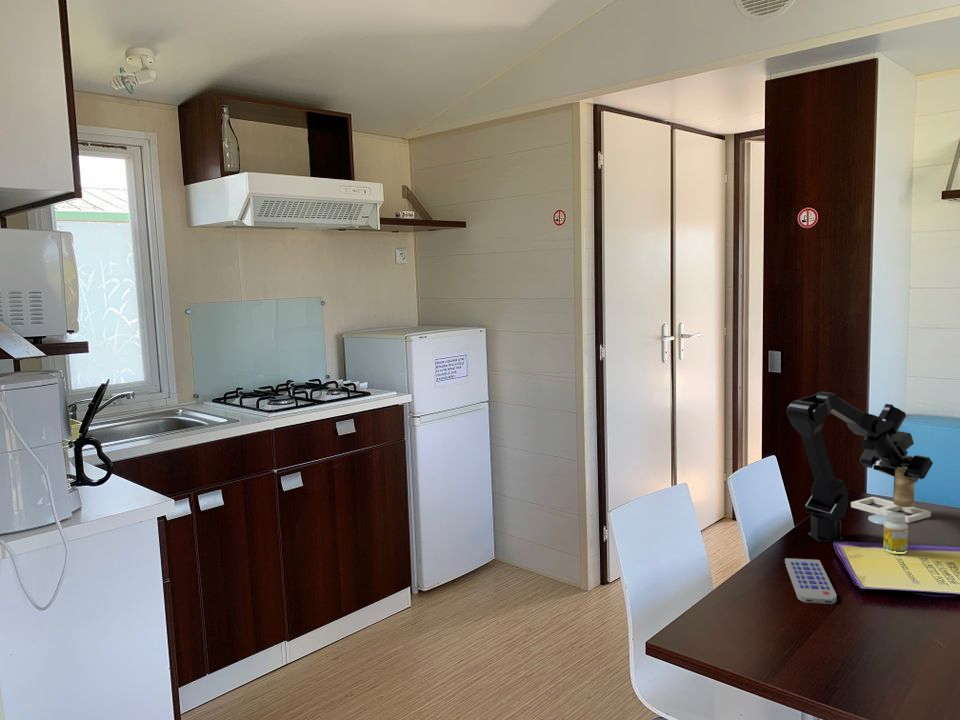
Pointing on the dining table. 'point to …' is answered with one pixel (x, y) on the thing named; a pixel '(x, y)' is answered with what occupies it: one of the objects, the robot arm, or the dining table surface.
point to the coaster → (878, 519)
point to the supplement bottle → (895, 532)
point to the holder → (890, 508)
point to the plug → (903, 488)
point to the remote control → (810, 581)
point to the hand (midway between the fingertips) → (907, 478)
